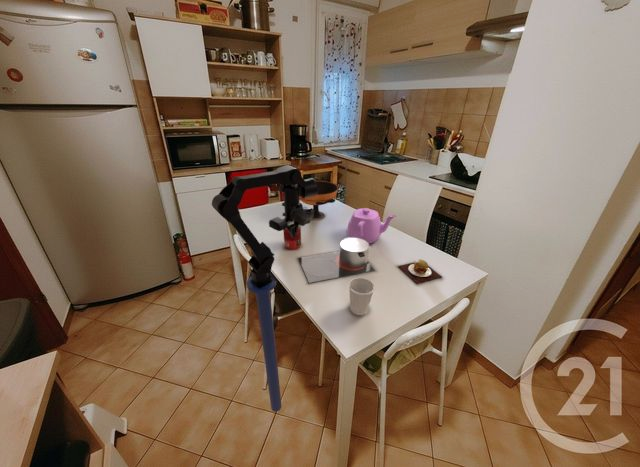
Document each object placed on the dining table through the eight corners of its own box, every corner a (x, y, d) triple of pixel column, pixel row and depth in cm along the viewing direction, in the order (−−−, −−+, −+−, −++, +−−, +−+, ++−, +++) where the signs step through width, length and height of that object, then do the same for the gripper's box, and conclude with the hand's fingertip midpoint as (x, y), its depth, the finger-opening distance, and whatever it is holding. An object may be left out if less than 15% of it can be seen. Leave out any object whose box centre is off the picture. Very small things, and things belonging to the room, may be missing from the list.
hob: (309, 283, 100) (309, 282, 99) (298, 258, 115) (298, 257, 114) (375, 270, 107) (375, 270, 107) (356, 248, 122) (356, 248, 122)
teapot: (340, 245, 125) (342, 216, 118) (352, 226, 143) (353, 200, 136) (389, 254, 118) (393, 224, 111) (394, 234, 135) (399, 207, 128)
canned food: (300, 250, 121) (299, 228, 116) (283, 249, 121) (281, 228, 116) (301, 241, 128) (301, 221, 122) (285, 241, 128) (284, 221, 122)
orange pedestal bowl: (284, 208, 164) (283, 181, 156) (320, 202, 175) (320, 176, 166) (309, 232, 136) (309, 200, 128) (350, 223, 147) (352, 193, 138)
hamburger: (421, 261, 113) (423, 250, 111) (441, 277, 104) (445, 266, 101) (398, 266, 110) (400, 255, 107) (416, 284, 100) (419, 272, 97)
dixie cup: (344, 300, 91) (346, 277, 87) (368, 299, 92) (371, 276, 87) (348, 319, 84) (350, 294, 79) (374, 317, 84) (378, 293, 80)
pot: (347, 273, 105) (348, 256, 101) (333, 253, 118) (334, 238, 114) (374, 268, 108) (376, 251, 105) (358, 249, 121) (359, 234, 117)
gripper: (287, 214, 86) (289, 254, 94) (324, 199, 98) (324, 235, 106) (266, 205, 93) (269, 243, 100) (303, 192, 105) (304, 227, 112)
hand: (293, 237), depth 104 cm, fingers closed
